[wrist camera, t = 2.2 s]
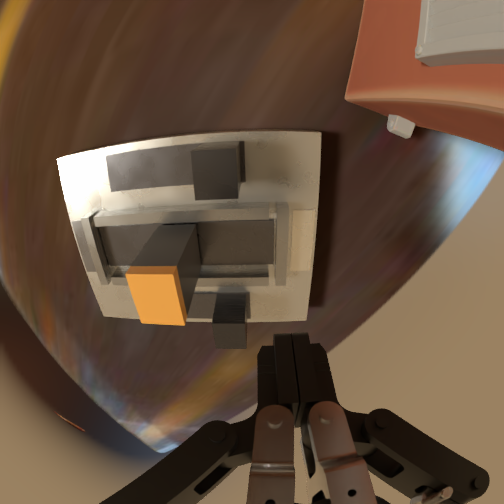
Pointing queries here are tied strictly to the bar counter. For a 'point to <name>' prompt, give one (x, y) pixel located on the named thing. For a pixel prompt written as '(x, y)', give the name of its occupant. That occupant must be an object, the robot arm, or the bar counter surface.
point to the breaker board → (204, 219)
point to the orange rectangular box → (432, 66)
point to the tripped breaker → (166, 275)
